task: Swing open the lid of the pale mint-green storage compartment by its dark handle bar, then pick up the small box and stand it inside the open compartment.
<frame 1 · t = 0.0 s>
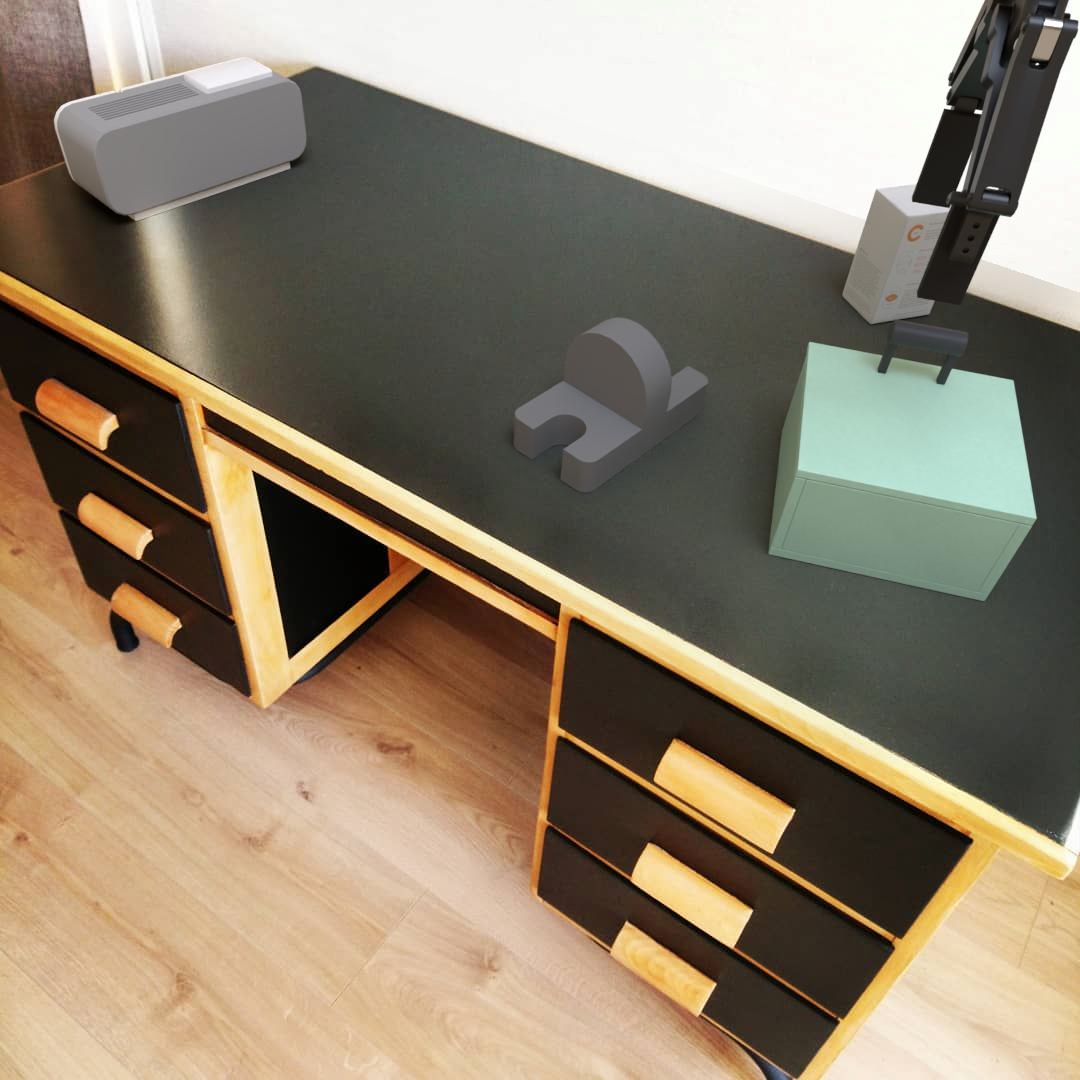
hand: (933, 247, 65), 25 cm above the table, tool pointing down, fingers open, 13 cm apart
bracket: (609, 427, 90), on the table
lid: (921, 401, 75), point 12 cm above the table, hinge at 0.0°
compartment: (874, 509, 84), on the table
alarm clock: (199, 183, 118), on the table
small box: (883, 307, 107), on the table
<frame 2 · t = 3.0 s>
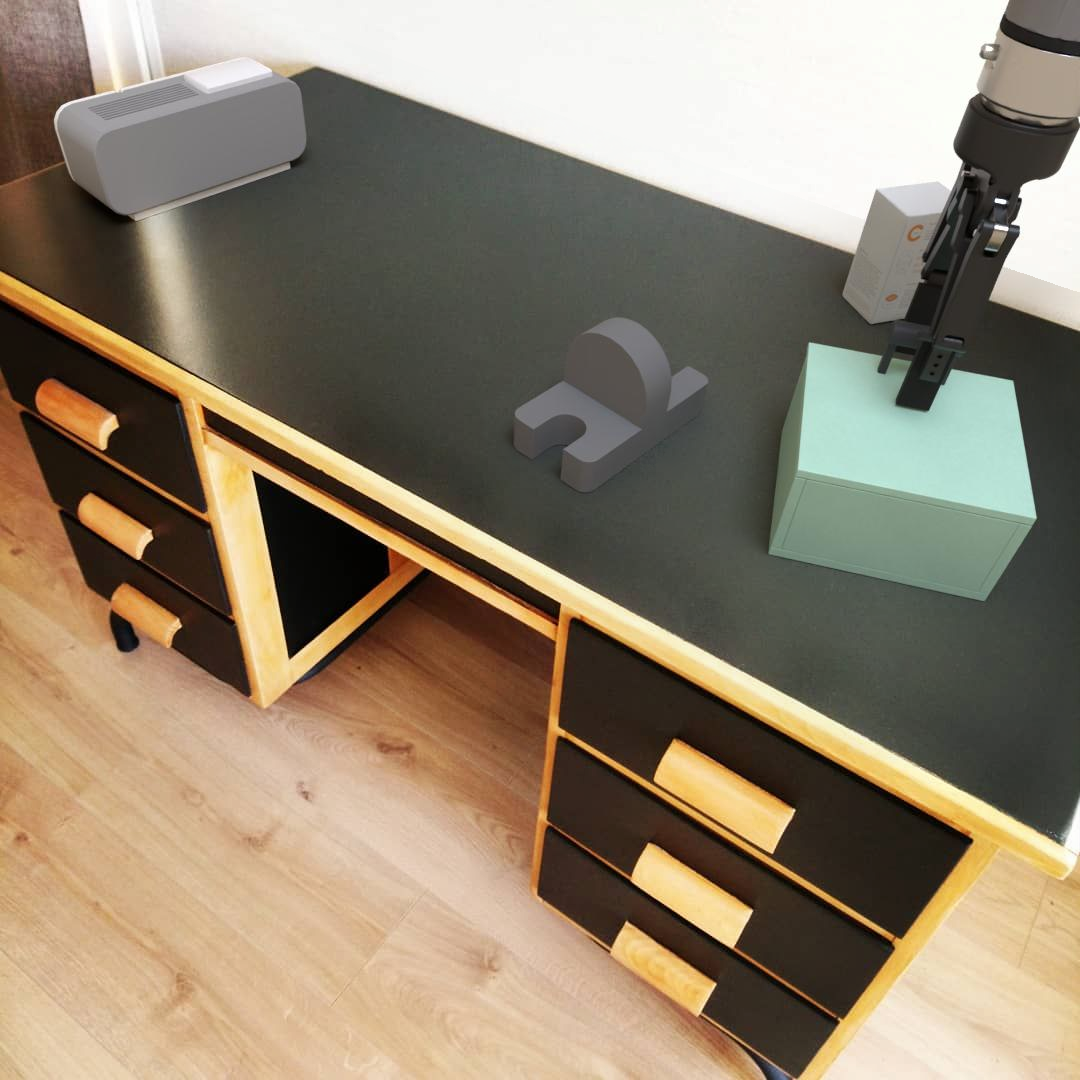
hand: (910, 377, 81), 10 cm above the table, tool pointing down, fingers open, 7 cm apart
lid: (921, 401, 75), point 12 cm above the table, hinge at -0.2°, touching compartment, gripper
everything else where it was.
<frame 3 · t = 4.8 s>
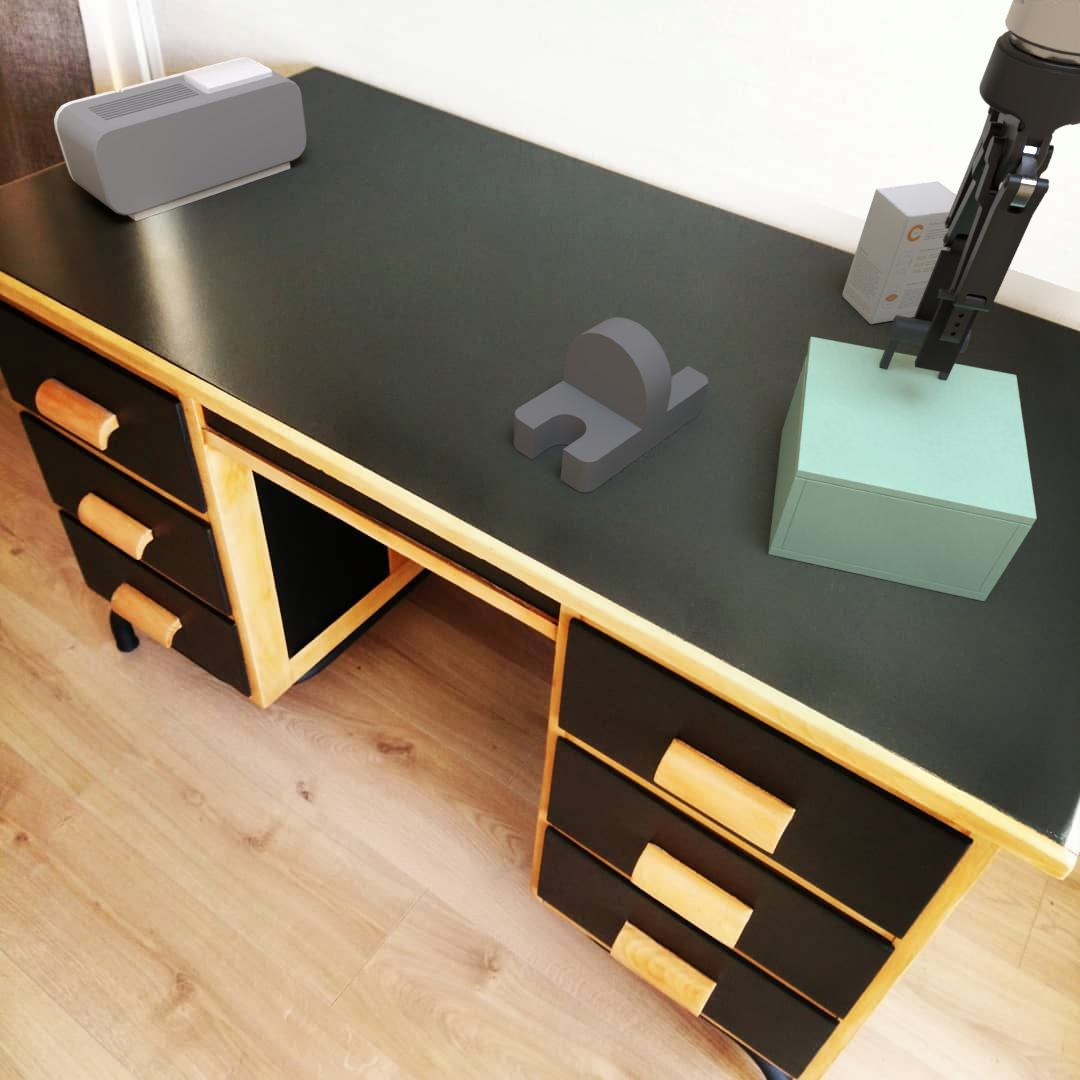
hand: (931, 345, 77), 14 cm above the table, tool pointing down, fingers open, 6 cm apart
lid: (922, 399, 75), point 12 cm above the table, hinge at 1.9°, touching gripper
everything else where it was.
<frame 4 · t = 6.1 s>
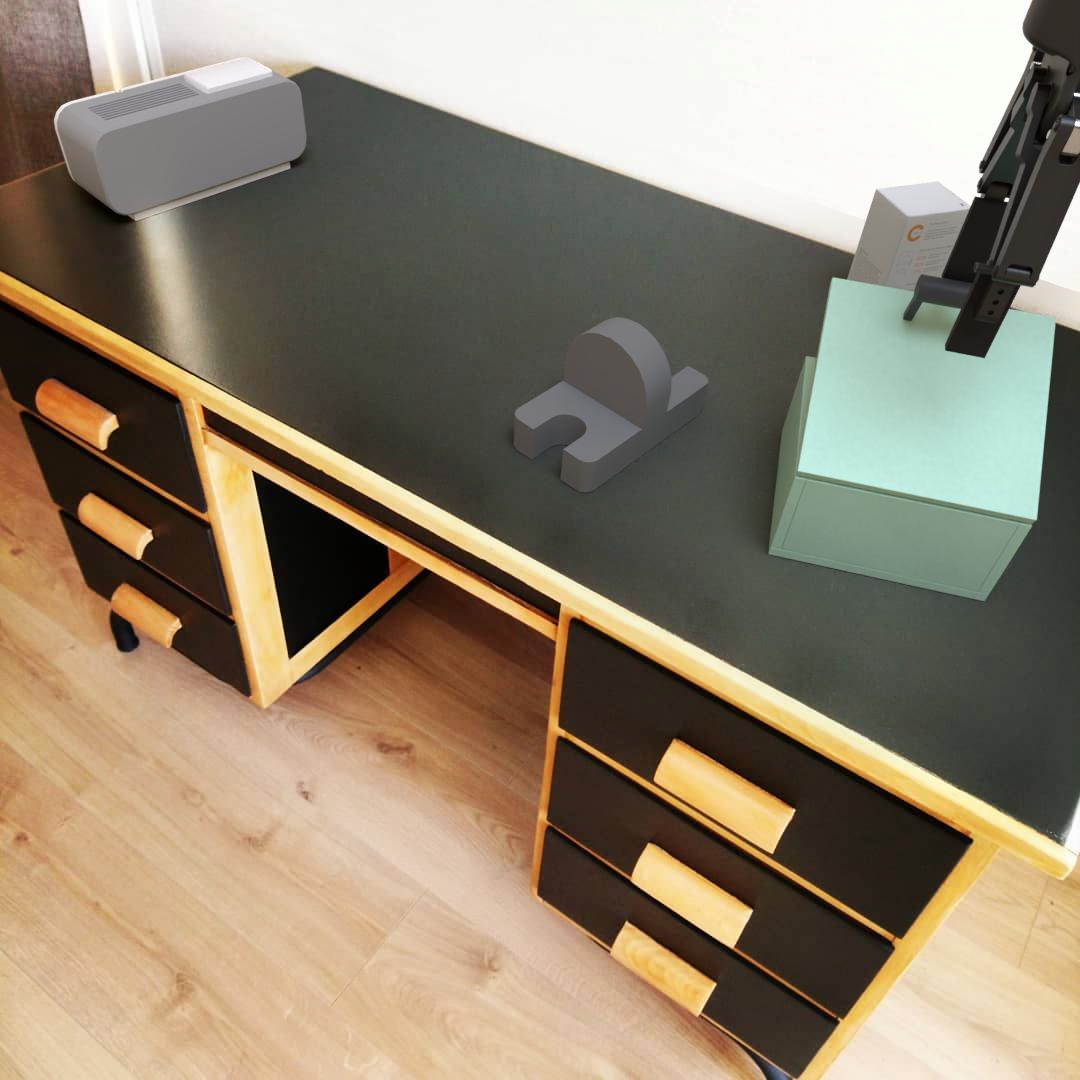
hand: (962, 314, 69), 20 cm above the table, tool pointing down, fingers open, 9 cm apart
lid: (939, 379, 71), point 15 cm above the table, hinge at 25.4°, touching gripper
everything else where it was.
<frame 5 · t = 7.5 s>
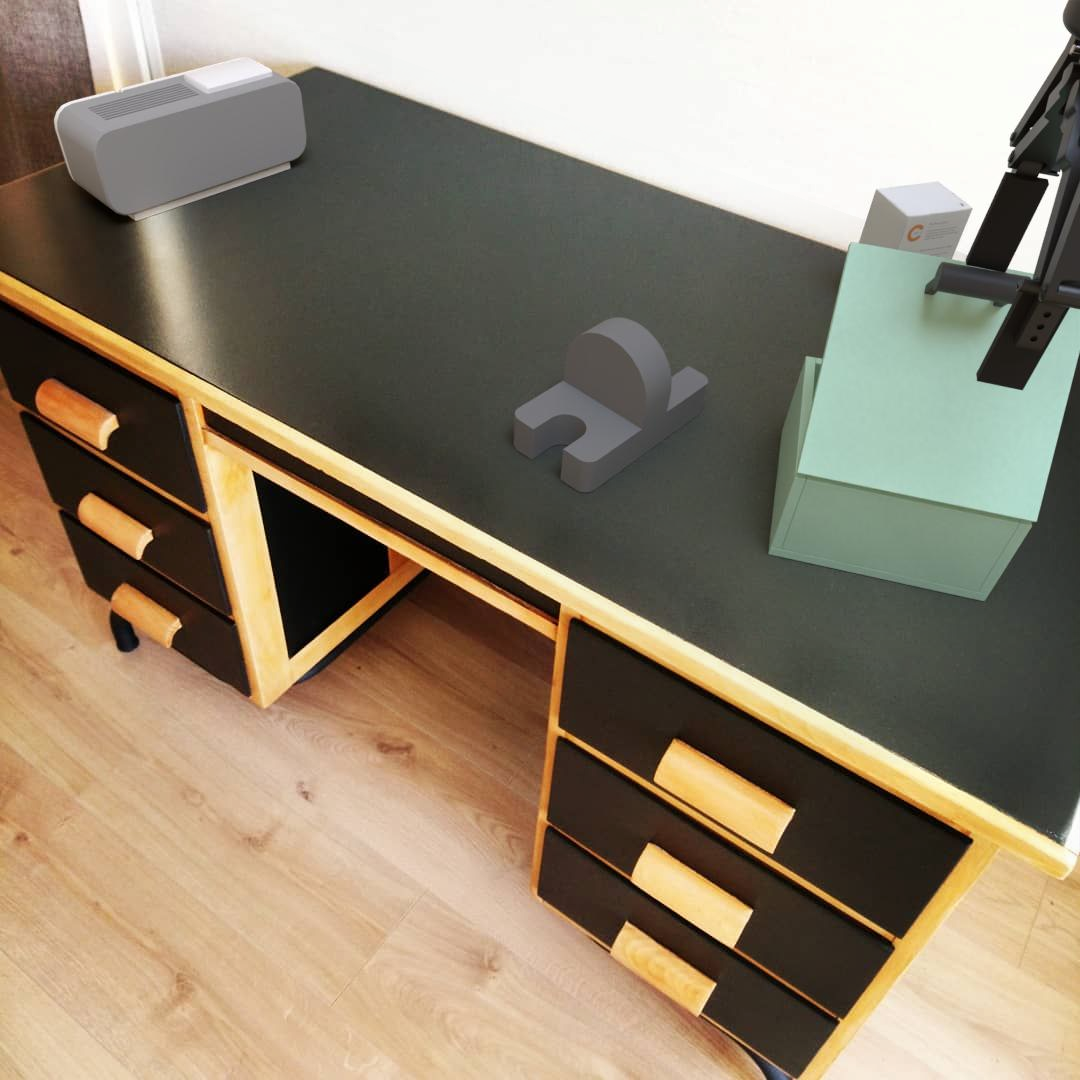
hand: (991, 321, 61), 24 cm above the table, tool pointing down, fingers open, 13 cm apart
lid: (951, 377, 68), point 18 cm above the table, hinge at 47.1°, touching gripper
everything else where it was.
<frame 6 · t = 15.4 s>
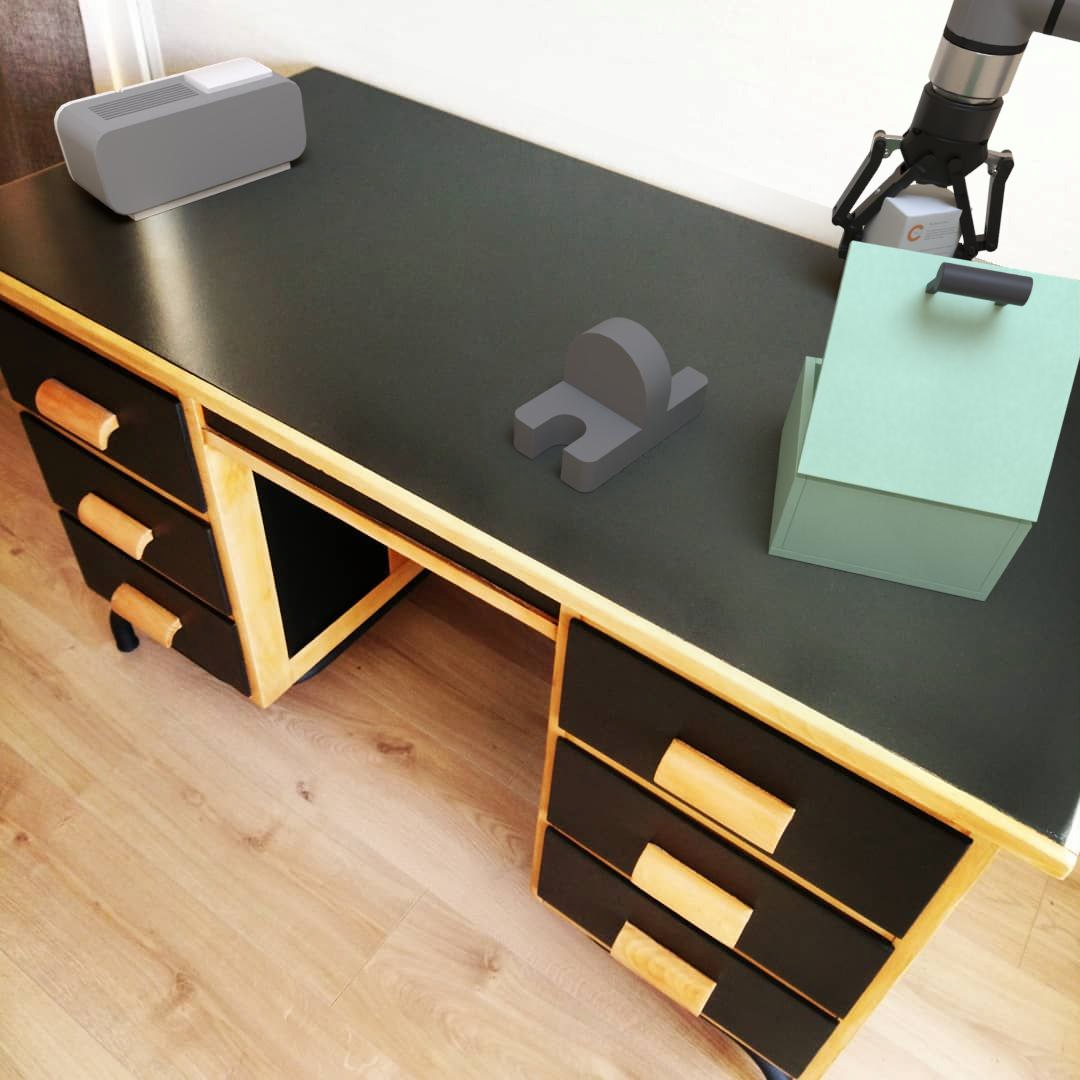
hand: (889, 292, 106), 2 cm above the table, tool pointing down, fingers closed on small box, 10 cm apart
lid: (952, 377, 68), point 18 cm above the table, hinge at 48.4°
small box: (883, 307, 107), on the table, touching gripper
everything else where it was.
when the fingers open (5 cm above the table, at t = 24.6 s): small box drops 4 cm, resting on compartment.
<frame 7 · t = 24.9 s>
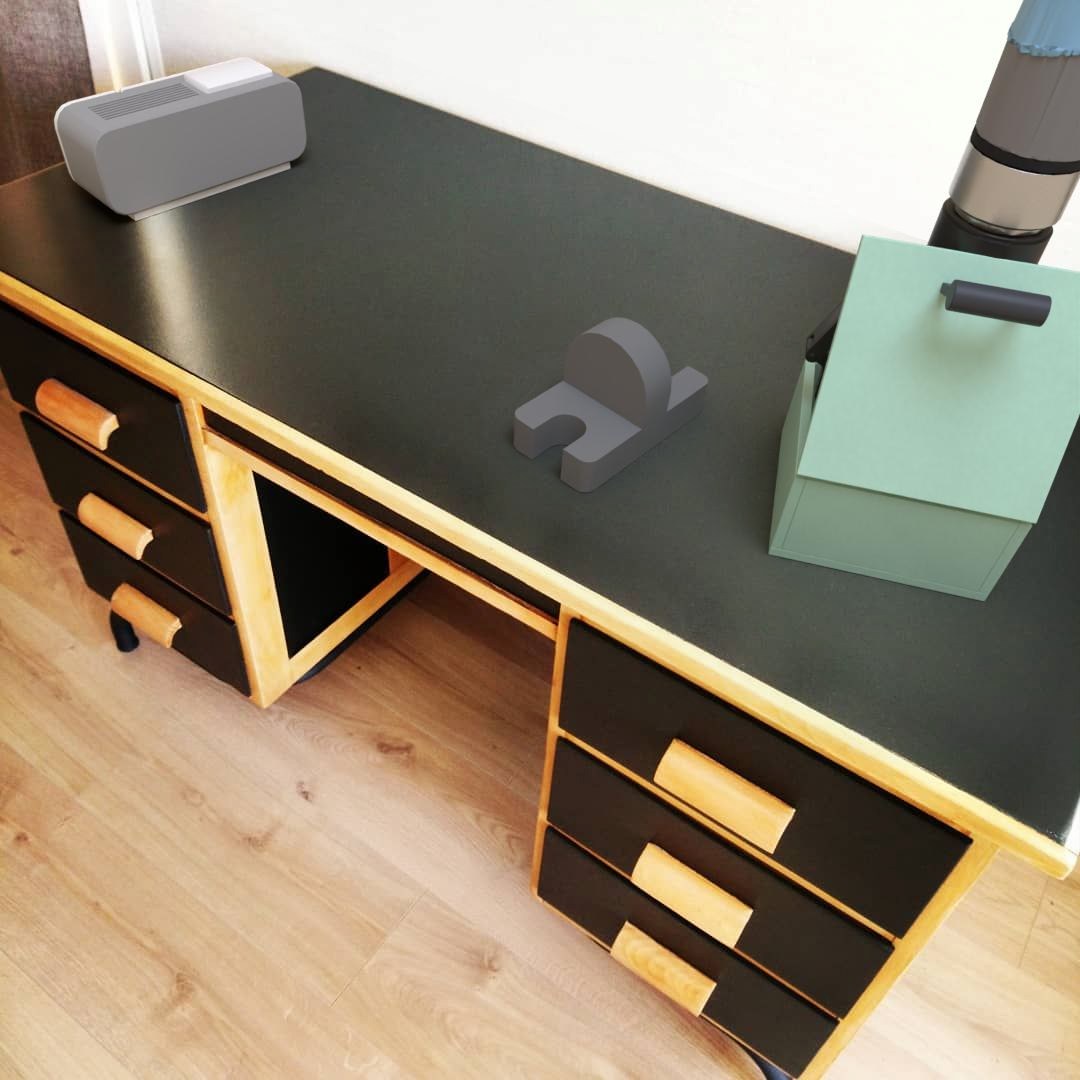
hand: (897, 444, 81), 6 cm above the table, tool pointing down, fingers open, 12 cm apart
lid: (959, 391, 65), point 19 cm above the table, hinge at 66.9°
small box: (876, 494, 84), point 1 cm above the table, touching compartment
everything else where it was.
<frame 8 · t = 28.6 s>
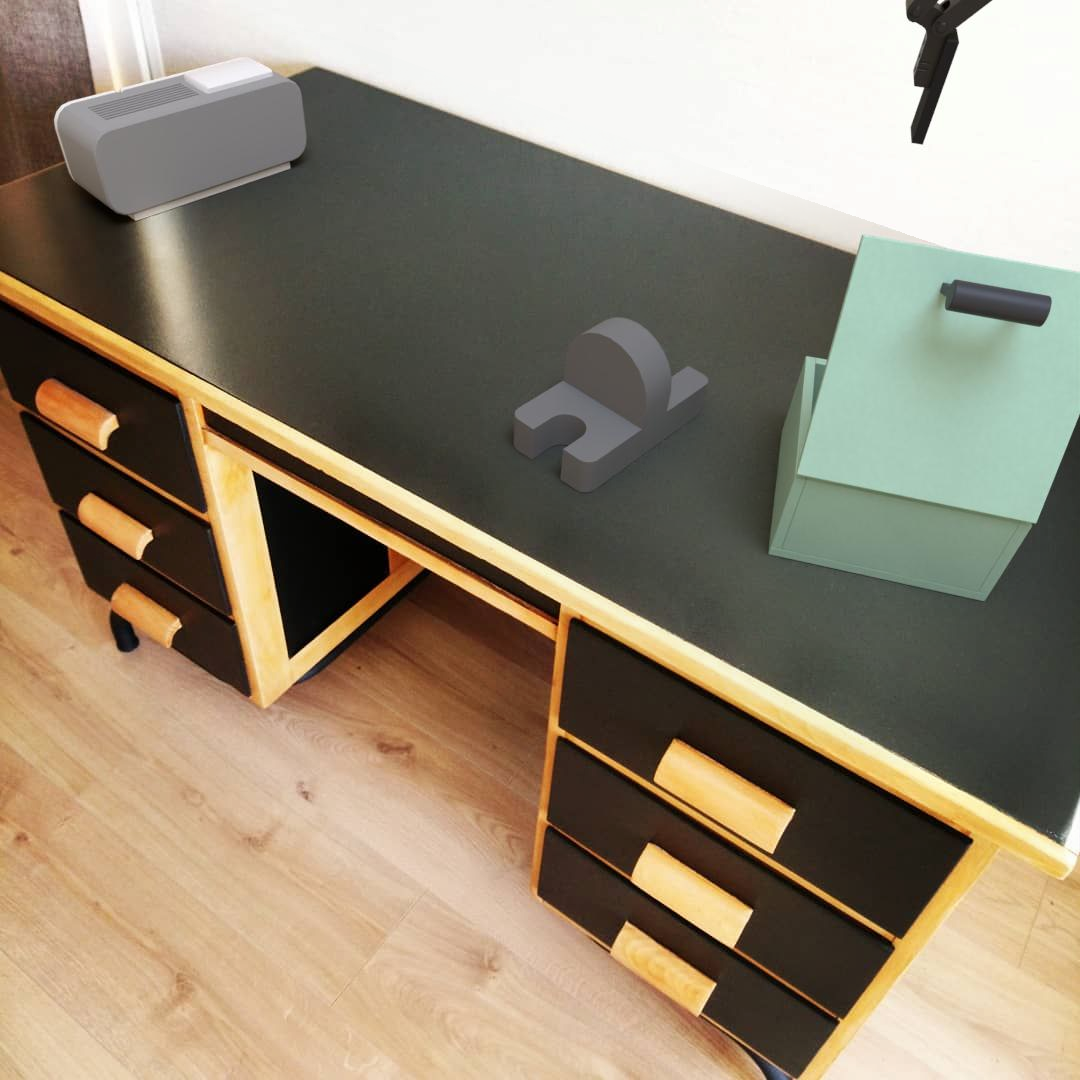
hand: (1017, 152, 64), 31 cm above the table, tool pointing down, fingers open, 13 cm apart
nothing on the table moved.
at the end: lid at +67° (first picture: +0°); small box inside the target area in the compartment (1.1 cm from its centre), point 0.7 cm above the compartment's base; small box tilted 0° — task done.
